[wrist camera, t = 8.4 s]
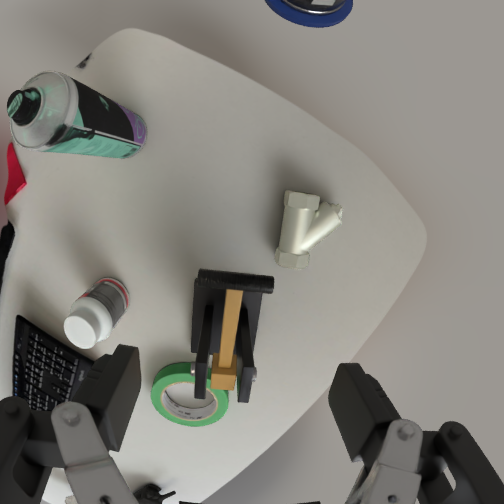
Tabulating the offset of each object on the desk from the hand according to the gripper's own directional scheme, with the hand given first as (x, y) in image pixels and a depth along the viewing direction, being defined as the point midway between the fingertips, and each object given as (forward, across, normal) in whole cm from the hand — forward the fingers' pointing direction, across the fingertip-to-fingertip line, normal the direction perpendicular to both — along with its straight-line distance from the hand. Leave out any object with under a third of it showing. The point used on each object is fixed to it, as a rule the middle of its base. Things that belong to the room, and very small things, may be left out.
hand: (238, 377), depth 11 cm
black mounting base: (+24, 0, +10) cm, 26 cm away
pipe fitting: (+24, -8, -2) cm, 26 cm away
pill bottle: (+24, +15, +9) cm, 30 cm away
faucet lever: (+12, 0, +5) cm, 13 cm away
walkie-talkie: (+24, +14, +59) cm, 65 cm away
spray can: (+24, +14, -11) cm, 30 cm away
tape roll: (+24, +4, +23) cm, 34 cm away
